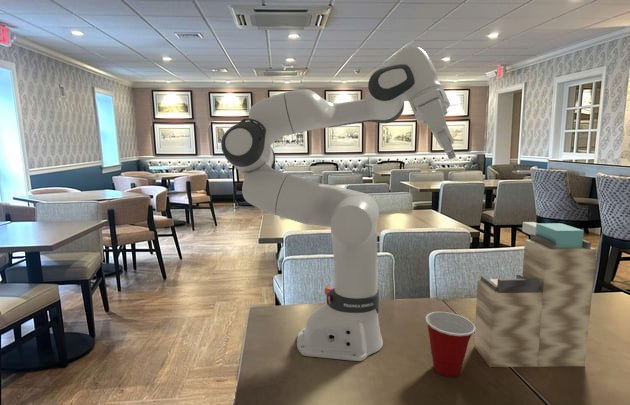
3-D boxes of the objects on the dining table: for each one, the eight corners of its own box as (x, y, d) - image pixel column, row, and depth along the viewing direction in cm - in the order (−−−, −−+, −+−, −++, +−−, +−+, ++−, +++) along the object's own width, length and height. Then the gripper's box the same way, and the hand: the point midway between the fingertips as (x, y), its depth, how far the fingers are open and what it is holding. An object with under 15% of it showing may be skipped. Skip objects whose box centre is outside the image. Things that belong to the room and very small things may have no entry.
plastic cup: (474, 388, 82) (477, 335, 81) (422, 378, 86) (423, 327, 84) (472, 361, 92) (474, 313, 91) (425, 353, 96) (426, 307, 94)
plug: (555, 248, 87) (556, 230, 86) (516, 231, 104) (517, 216, 103) (582, 248, 87) (583, 230, 86) (539, 231, 104) (540, 216, 103)
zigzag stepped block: (489, 366, 90) (497, 243, 86) (474, 346, 99) (480, 234, 95) (584, 366, 90) (597, 242, 86) (560, 346, 99) (570, 233, 94)
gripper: (425, 122, 109) (443, 166, 106) (411, 99, 91) (432, 152, 88) (447, 112, 107) (466, 157, 104) (437, 86, 88) (460, 140, 85)
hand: (450, 155), depth 96 cm, fingers open, 8 cm apart
